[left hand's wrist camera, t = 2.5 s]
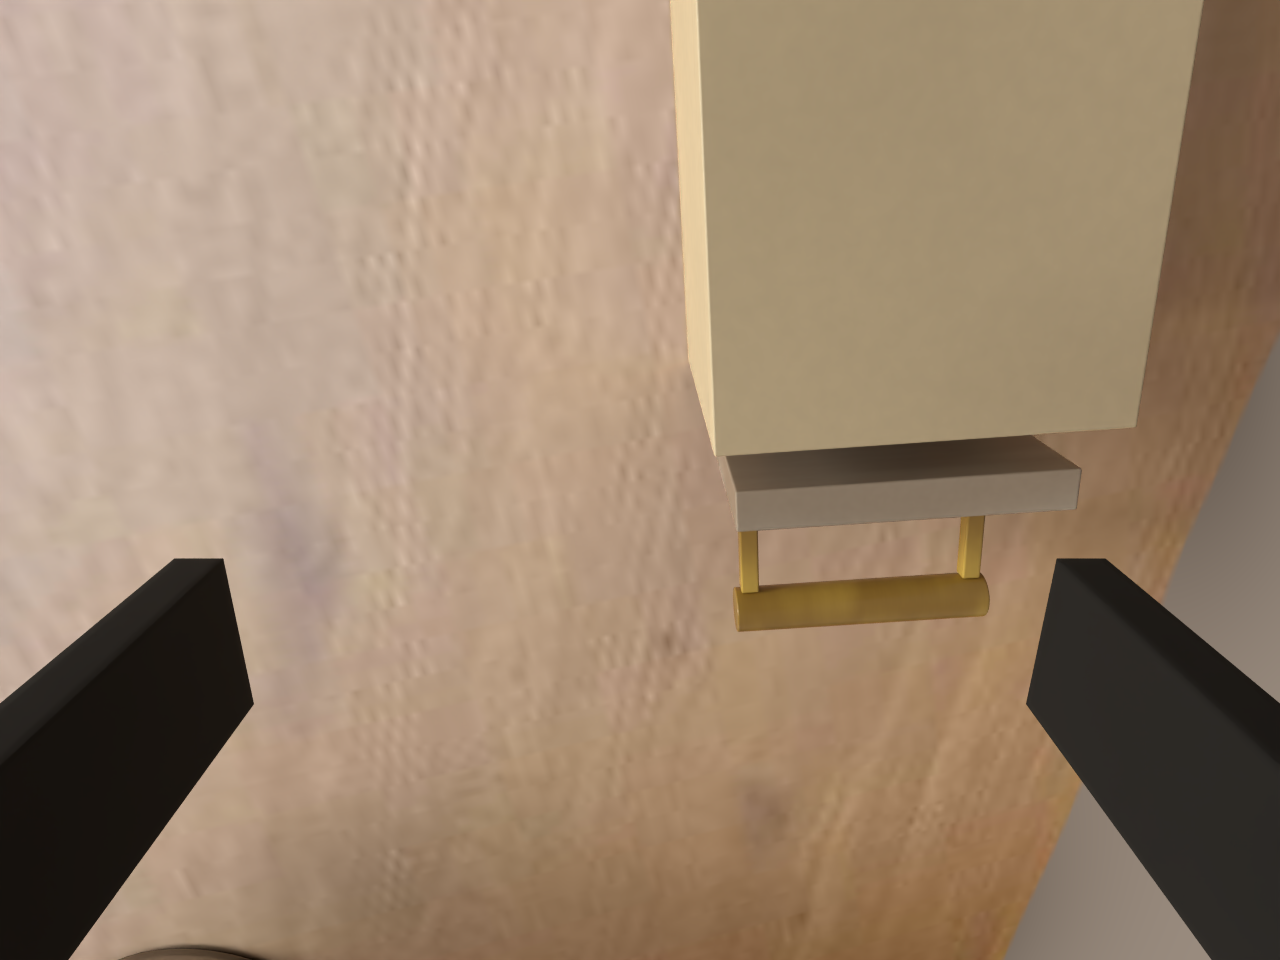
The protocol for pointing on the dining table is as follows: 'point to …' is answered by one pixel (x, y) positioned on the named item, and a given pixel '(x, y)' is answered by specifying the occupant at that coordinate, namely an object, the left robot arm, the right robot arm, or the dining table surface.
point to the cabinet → (924, 213)
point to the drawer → (885, 520)
